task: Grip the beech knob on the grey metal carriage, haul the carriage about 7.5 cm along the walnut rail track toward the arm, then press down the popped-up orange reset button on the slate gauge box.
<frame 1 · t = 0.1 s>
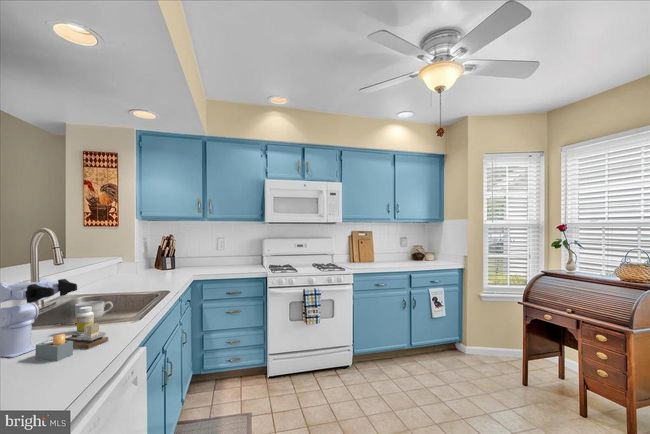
hand: (64, 289, 104), 22 cm above the counter, tool horizontal, fingers open, 7 cm apart
gauge box: (53, 356, 104), on the counter
reset button: (59, 343, 103), point 5 cm above the counter, slide at 0.0 cm
teacup: (93, 320, 144), on the counter
supplement bottle: (85, 332, 128), on the counter
rail track: (82, 343, 115), on the counter
carriage: (91, 330, 115), point 5 cm above the counter, slide at 0.0 cm
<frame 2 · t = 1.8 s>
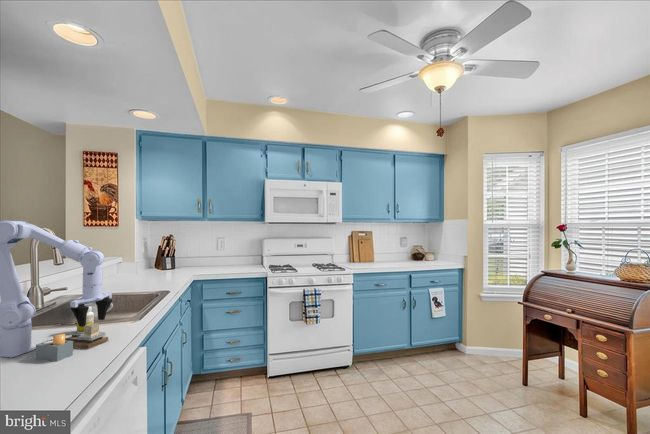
hand: (92, 322, 115), 8 cm above the counter, tool pointing down, fingers open, 7 cm apart
nothing on the counter moved.
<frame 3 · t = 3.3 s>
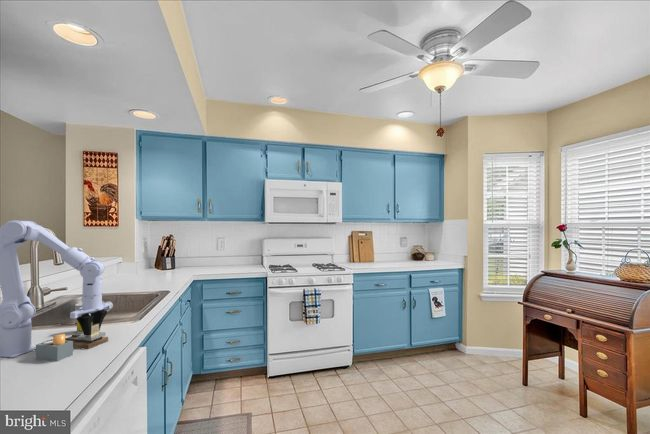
hand: (91, 333, 115), 4 cm above the counter, tool pointing down, fingers closed on carriage, 3 cm apart
carriage: (91, 330, 115), point 5 cm above the counter, slide at 0.0 cm, touching gripper
everything else where it was.
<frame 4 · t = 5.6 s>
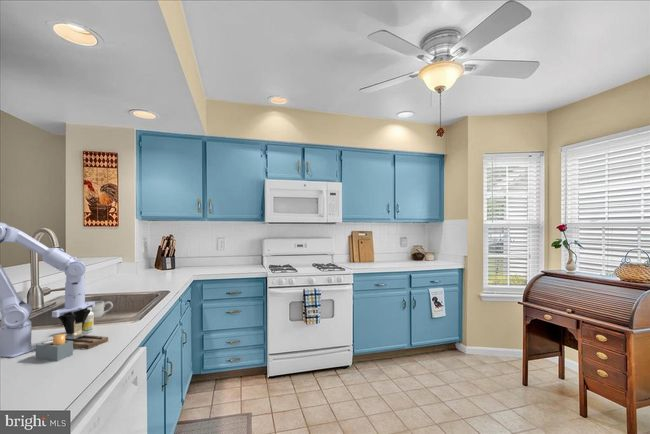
hand: (74, 332, 116), 4 cm above the counter, tool pointing down, fingers closed on carriage, 3 cm apart
carriage: (74, 329, 116), point 5 cm above the counter, slide at 7.4 cm, touching gripper
everything else where it was.
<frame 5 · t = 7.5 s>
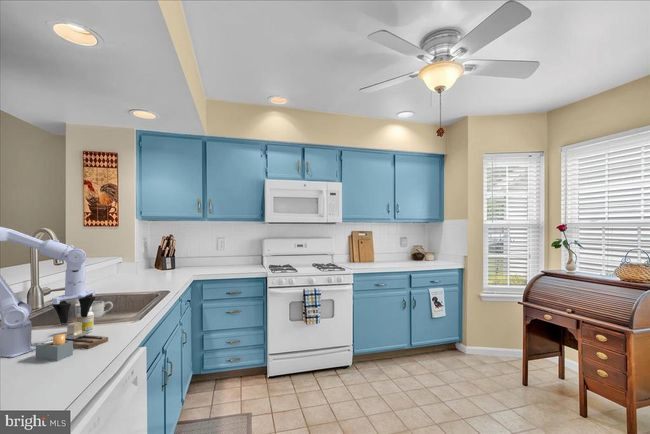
hand: (74, 319, 116), 8 cm above the counter, tool pointing down, fingers open, 7 cm apart
carriage: (74, 329, 116), point 5 cm above the counter, slide at 7.4 cm
everything else where it was.
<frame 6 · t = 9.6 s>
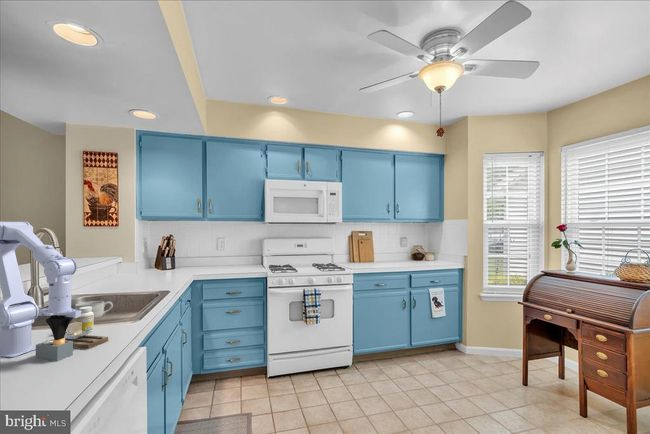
hand: (59, 339, 103), 6 cm above the counter, tool pointing down, fingers closed, pressing on reset button
reset button: (59, 346, 103), point 3 cm above the counter, slide at 1.1 cm, touching gripper
everything else where it was.
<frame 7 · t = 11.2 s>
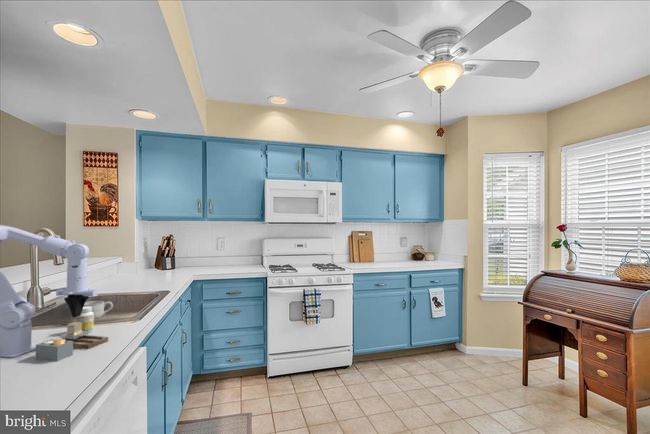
hand: (76, 316, 114), 10 cm above the counter, tool pointing down, fingers closed
reset button: (59, 348, 103), point 3 cm above the counter, slide at 1.6 cm
everything else where it was.
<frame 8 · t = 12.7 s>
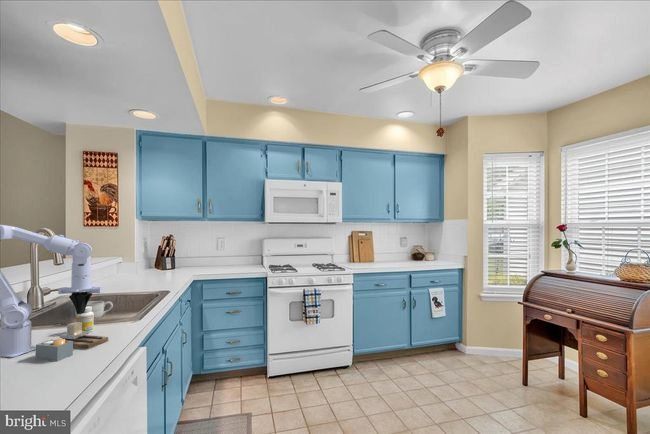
hand: (80, 313, 117), 10 cm above the counter, tool pointing down, fingers closed
nothing on the counter moved.
at the end: carriage slide at 7.4 cm; reset button slide at 1.6 cm; the gripper is holding nothing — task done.
